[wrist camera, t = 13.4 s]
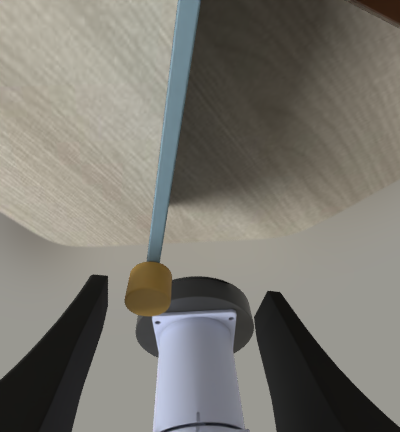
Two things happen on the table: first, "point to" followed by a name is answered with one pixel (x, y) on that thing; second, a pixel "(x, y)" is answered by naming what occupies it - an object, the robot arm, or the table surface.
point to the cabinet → (381, 9)
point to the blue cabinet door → (165, 171)
